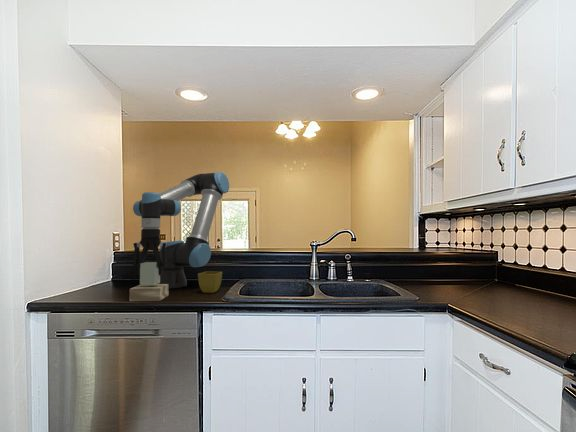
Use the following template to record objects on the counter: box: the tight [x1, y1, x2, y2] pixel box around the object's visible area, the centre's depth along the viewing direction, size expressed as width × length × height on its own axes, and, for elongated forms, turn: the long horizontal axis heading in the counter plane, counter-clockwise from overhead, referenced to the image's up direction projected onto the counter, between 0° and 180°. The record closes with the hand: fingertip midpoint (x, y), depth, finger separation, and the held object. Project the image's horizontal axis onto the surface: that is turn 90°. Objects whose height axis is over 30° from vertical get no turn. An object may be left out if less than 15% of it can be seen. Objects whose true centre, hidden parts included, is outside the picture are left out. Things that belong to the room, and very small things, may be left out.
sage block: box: [139, 261, 158, 285], centre depth 144 cm, size 6×6×9 cm
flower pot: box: [197, 271, 223, 294], centre depth 158 cm, size 9×9×9 cm
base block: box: [128, 284, 170, 302], centre depth 144 cm, size 12×12×5 cm
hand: (150, 283), depth 144 cm, fingers closed on sage block, 6 cm apart
